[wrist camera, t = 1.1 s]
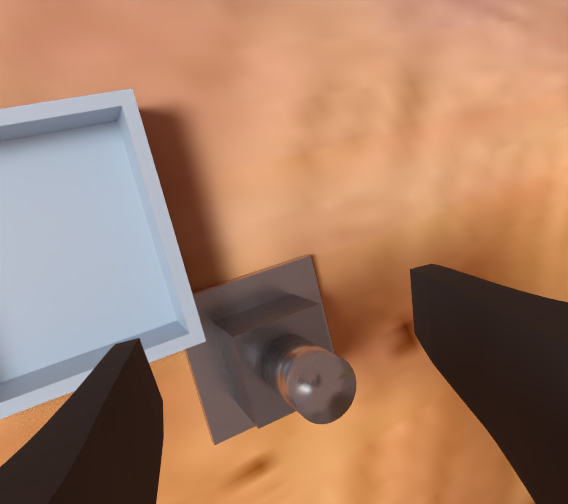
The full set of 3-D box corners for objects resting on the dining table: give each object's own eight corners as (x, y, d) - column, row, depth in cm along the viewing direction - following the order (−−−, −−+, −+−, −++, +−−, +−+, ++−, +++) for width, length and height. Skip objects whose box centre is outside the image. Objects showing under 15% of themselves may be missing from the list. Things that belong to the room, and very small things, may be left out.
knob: (310, 369, 26) (384, 417, 20) (236, 402, 25) (290, 466, 18) (291, 293, 25) (361, 317, 19) (213, 322, 24) (260, 358, 17)
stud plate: (337, 381, 28) (365, 399, 25) (211, 440, 25) (227, 467, 22) (306, 254, 26) (331, 258, 24) (169, 300, 23) (181, 310, 21)
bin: (189, 325, 24) (206, 341, 21) (-61, 415, 20) (-89, 452, 17) (125, 108, 22) (132, 88, 19) (-166, 157, 18) (-220, 143, 15)
